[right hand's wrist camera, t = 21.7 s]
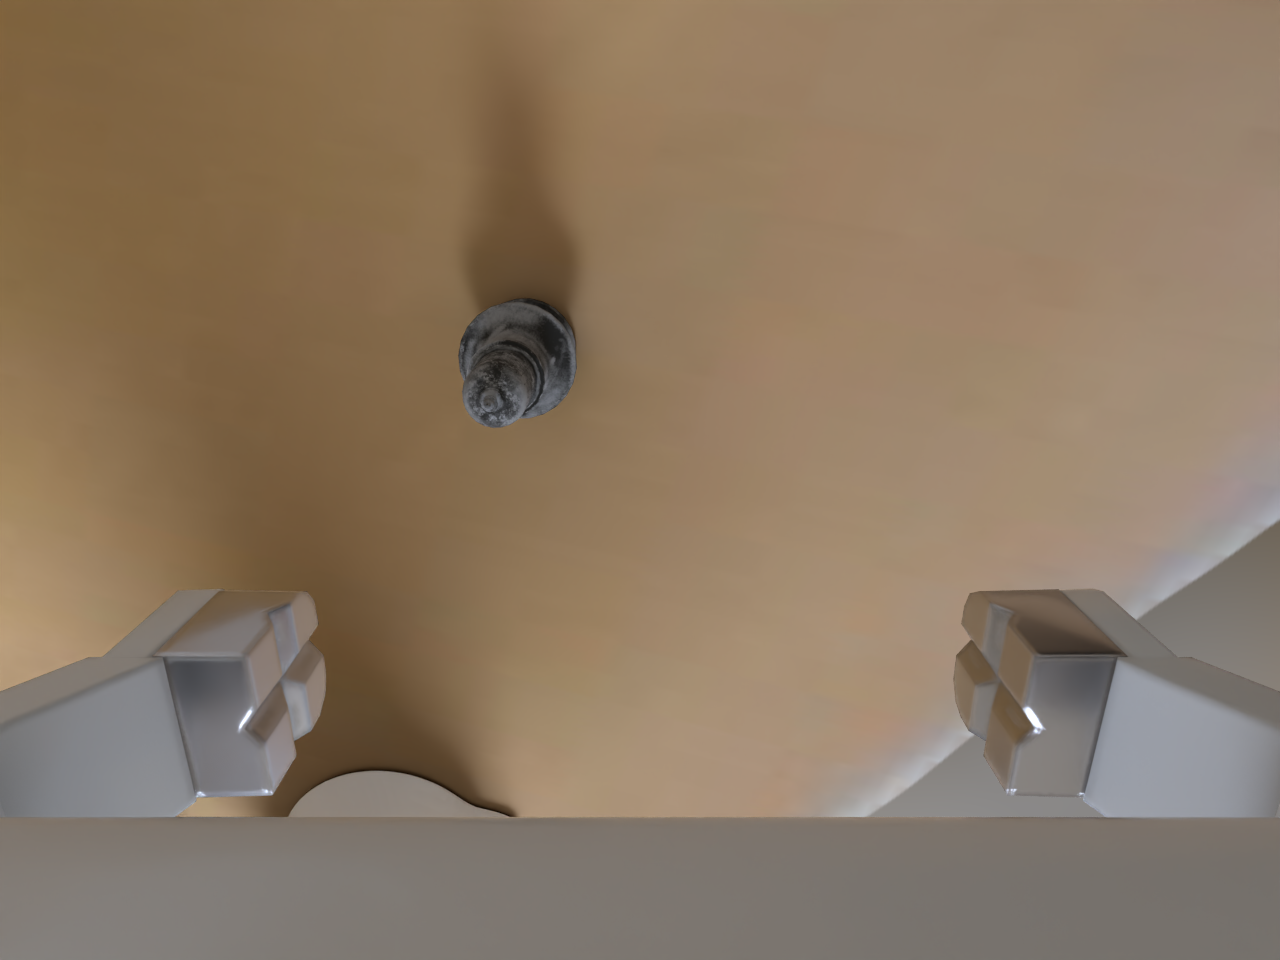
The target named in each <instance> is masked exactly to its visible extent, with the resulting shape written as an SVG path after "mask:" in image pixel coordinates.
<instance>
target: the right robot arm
mask: <svg viewBox="0 0 1280 960" xmlns="http://www.w3.org/2000/svg"><path fill="white" fill-rule="evenodd" d="M318 624H319V623H318V618H317V613H316V608H315V603H314V600H313V598H312V597H311V596H310V595H309V594H308V592H307V591H266V590H224V589H200V590H180V591H177V592H176V593H175V594H174V595H172V596H171V597H170V598H169V599H168V600H167V601H166V602H164V603H163V604H162V605H161V606H160V607H159V608H158V609H156V610H155V611H154V612H153V613H152V614H151V615H150V616H149V617H147V618H146V619H145V620H144V621H143V622H142V623H141V624H139V625H138V626H137V627H136V628H135V629H134V630H133V631H131V632H130V633H129V634H128V635H127V636H126V637H125V638H123V639H122V640H121V641H120V642H119V643H118V644H117V645H115V646H114V647H113V648H112V649H111V650H110V651H109V652H107V653H106V654H105V655H104V656H103V657H88V658H85V659H83V660H80V661H78V662H75V663H73V664H70V665H67V666H65V667H62V668H60V669H57V670H55V671H52V672H49V673H47V674H44V675H42V676H39V677H36V678H34V679H31V680H29V681H26V682H24V683H21V684H18V685H16V686H13V687H11V688H8V689H6V690H3V691H0V960H1280V692H1279V691H1277V690H1274V689H1272V688H1269V687H1266V686H1264V685H1261V684H1259V683H1256V682H1254V681H1251V680H1249V679H1246V678H1243V677H1241V676H1238V675H1236V674H1233V673H1231V672H1228V671H1225V670H1223V669H1220V668H1218V667H1215V666H1212V665H1210V664H1207V663H1205V662H1202V661H1200V660H1197V659H1195V658H1192V657H1177V656H1176V655H1175V654H1174V653H1173V652H1171V651H1170V650H1169V649H1168V648H1167V647H1166V646H1165V645H1163V644H1162V643H1161V642H1160V641H1159V640H1158V639H1157V638H1156V637H1154V636H1153V635H1152V634H1151V633H1150V632H1149V631H1148V630H1146V629H1145V628H1144V627H1143V626H1142V625H1141V624H1140V623H1138V622H1137V621H1136V620H1135V619H1134V618H1133V617H1132V616H1131V615H1129V614H1128V613H1127V612H1126V611H1125V610H1124V609H1123V608H1121V607H1120V606H1119V605H1118V604H1117V603H1116V602H1115V601H1114V600H1112V599H1111V598H1110V597H1109V596H1108V595H1107V594H1106V593H1104V592H1103V591H1099V590H1095V589H1074V590H1059V589H1054V590H1012V591H979V592H974V593H970V594H969V597H968V599H967V601H966V603H965V606H964V611H963V617H962V623H961V624H962V626H963V627H964V629H965V630H966V632H967V633H968V635H969V637H970V638H971V640H970V641H969V643H968V644H967V645H966V646H965V647H964V648H963V649H962V650H961V651H960V652H959V653H958V654H957V655H956V662H955V671H954V689H955V700H956V704H957V707H958V710H959V713H960V716H961V718H962V720H963V722H964V723H965V725H966V727H967V729H968V730H969V731H970V732H972V733H973V734H975V735H977V736H978V737H980V738H981V739H983V740H985V741H986V744H985V750H984V757H985V759H986V761H987V762H988V764H989V766H990V767H991V769H992V770H993V772H994V774H995V775H996V777H997V779H998V780H999V782H1000V784H1001V785H1002V787H1003V788H1004V790H1005V792H1006V794H1007V795H1012V796H1049V797H1084V799H1083V801H1084V802H1086V803H1087V804H1089V805H1090V806H1091V807H1093V808H1094V809H1095V810H1097V811H1098V812H1099V813H1101V814H1102V815H1104V816H1105V817H509V816H507V815H504V814H501V813H498V812H494V811H491V810H487V809H482V808H478V807H475V806H473V805H471V804H469V803H467V802H465V801H463V800H462V799H460V798H459V797H457V796H456V795H454V794H453V793H451V792H450V791H448V790H446V789H445V788H443V787H441V786H439V785H437V784H435V783H433V782H430V781H428V780H425V779H422V778H419V777H416V776H412V775H408V774H404V773H398V772H390V771H362V772H355V773H350V774H345V775H341V776H338V777H335V778H332V779H330V780H328V781H325V782H323V783H321V784H320V785H318V786H316V787H315V788H313V789H312V790H310V791H309V792H308V793H306V794H305V795H304V796H303V797H302V798H301V799H300V800H299V801H298V802H297V804H296V805H295V806H294V808H293V809H292V811H291V812H290V814H289V816H288V817H175V816H177V815H178V814H179V813H181V812H182V811H184V810H185V809H186V808H188V807H189V806H190V805H192V804H193V803H194V802H196V797H229V796H265V795H273V794H274V792H275V790H276V789H277V787H278V785H279V784H280V782H281V781H282V779H283V777H284V776H285V774H286V772H287V771H288V769H289V767H290V766H291V764H292V762H293V761H294V759H295V757H296V750H295V744H294V741H295V740H297V739H299V738H300V737H302V736H303V735H305V734H307V733H308V732H310V731H311V730H312V729H313V727H314V725H315V723H316V721H317V720H318V718H319V716H320V714H321V710H322V706H323V702H324V698H325V693H326V668H325V661H324V655H323V654H322V653H321V652H320V651H319V650H318V649H317V648H316V647H315V646H314V645H313V644H312V643H311V641H310V640H309V638H310V637H311V635H312V633H313V632H314V630H315V629H316V627H317V626H318Z"/></svg>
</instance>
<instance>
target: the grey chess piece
mask: <svg viewBox="0 0 1280 960" xmlns="http://www.w3.org/2000/svg"><path fill="white" fill-rule="evenodd" d="M458 356H459V366H460V372H461V375H462V377H463V380H464V385H463V391H462V394H463V402H464V405H465V408H466V410H467V412H468V413H469V415H470V416H471V417H472V418H473V419H474V420H475V421H477V422H478V423H480V424H482V425H484V426H488V427H492V428H497V427H504V426H507V425H510V424H512V423H513V422H515V421H517V420H518V419H519V418H531V417H535V416H538V415H542V414H544V413H546V412H548V411H549V410H551V409H553V408H554V407H556V406H557V405H558V404H559V403H560V402H561V401H562V400H563V399H564V398H565V397H566V395H567V394H568V392H569V390H570V388H571V386H572V384H573V382H574V377H575V373H576V368H577V366H576V348H575V339H574V335H573V332H572V329H571V327H570V326H569V324H568V322H567V321H566V319H565V318H564V317H563V316H562V315H561V314H560V313H559V312H558V311H557V310H556V309H555V308H553V307H552V306H550V305H548V304H546V303H544V302H542V301H538V300H534V299H515V300H511V301H508V302H505V303H502V304H499V305H496V306H492V307H490V308H488V309H487V310H485V311H484V312H482V313H480V314H479V315H477V317H476V318H475V319H474V320H473V321H472V322H471V323H470V325H469V326H468V327H467V329H466V331H465V333H464V335H463V337H462V339H461V344H460V349H459V355H458Z"/></svg>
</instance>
